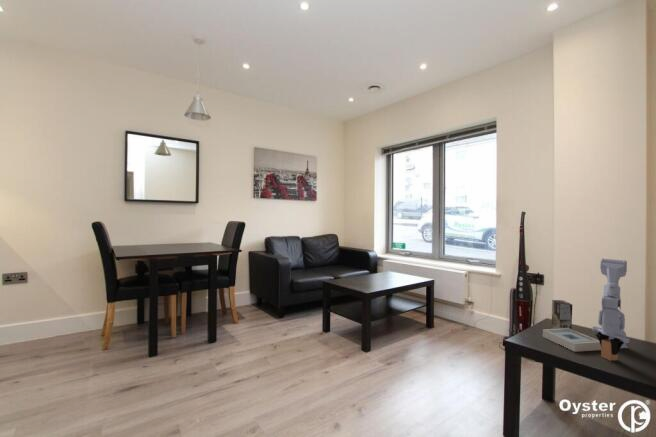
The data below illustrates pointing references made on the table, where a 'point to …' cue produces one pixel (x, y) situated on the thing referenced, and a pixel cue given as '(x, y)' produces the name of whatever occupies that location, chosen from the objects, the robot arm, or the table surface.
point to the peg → (607, 350)
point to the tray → (570, 344)
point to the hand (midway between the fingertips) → (609, 352)
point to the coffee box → (561, 314)
